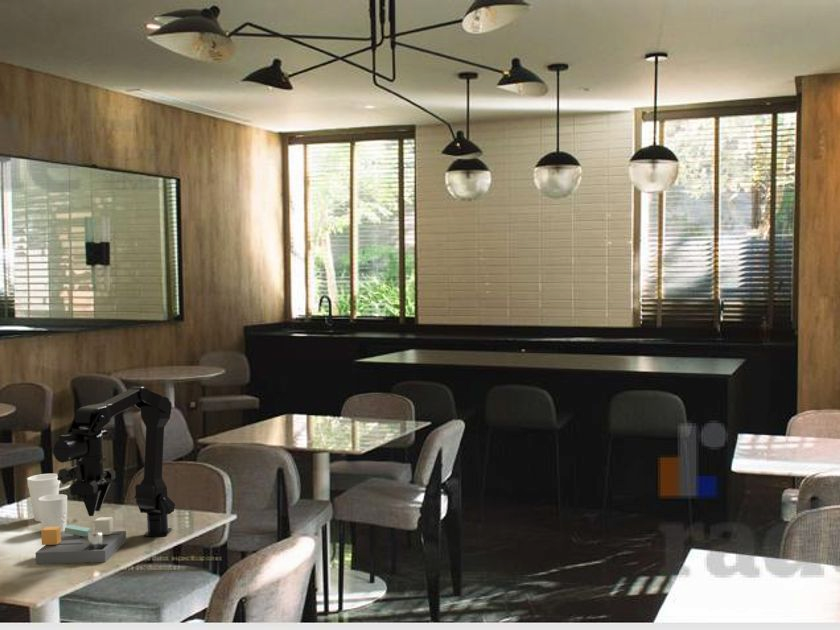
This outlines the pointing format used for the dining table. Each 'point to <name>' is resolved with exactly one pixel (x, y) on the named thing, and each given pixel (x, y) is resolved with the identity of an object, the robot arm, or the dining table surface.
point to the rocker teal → (77, 530)
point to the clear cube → (95, 540)
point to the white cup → (53, 511)
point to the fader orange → (51, 535)
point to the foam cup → (42, 489)
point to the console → (80, 549)
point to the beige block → (104, 525)
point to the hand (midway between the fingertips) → (94, 513)
